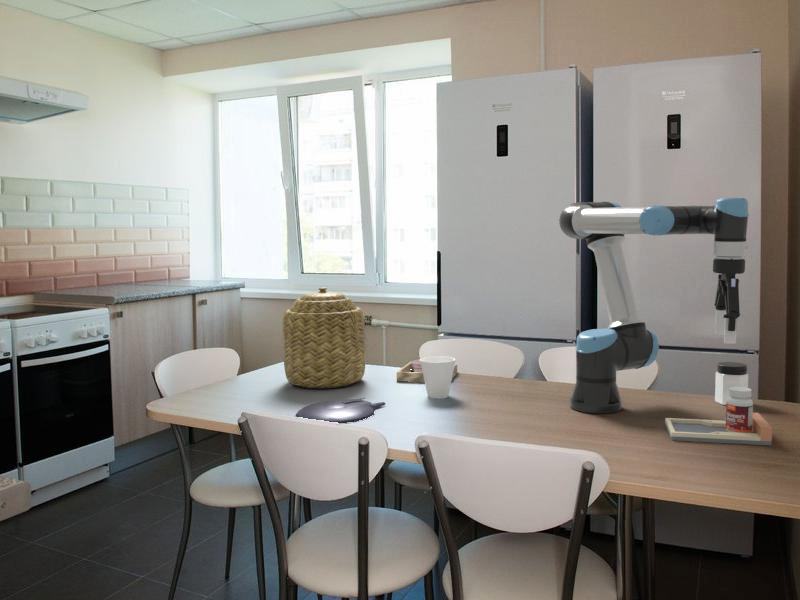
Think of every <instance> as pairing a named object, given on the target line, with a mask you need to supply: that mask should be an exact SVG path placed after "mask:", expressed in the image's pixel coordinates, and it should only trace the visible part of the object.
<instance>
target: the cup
mask: <svg viewBox="0 0 800 600" xmlns="http://www.w3.org/2000/svg"><path fill="white" fill-rule="evenodd" d="M419 360H420V363H421V367H422V372H423V376H424V381H425V383H424V384H425V389H426V394H427V398H429V397H430V399H434V398H437V400H439V399H441V398H442V399H446V398H449V396H450V389H451V386H452V380H453V378H452V375H453V370H454V365H455V364H456V358H455V357H452V356H445V355H435V356H434V355H433V356H432V355H431V356H426V357H421V358H420V359H419Z"/></svg>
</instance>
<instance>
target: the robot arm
mask: <svg viewBox="0 0 800 600" xmlns="http://www.w3.org/2000/svg"><path fill="white" fill-rule="evenodd" d="M715 203H716V204H715V205H673V206H672V205H653V206H622V205H620V204H618V203H615V202H610V201H598V202H597V201H595V202H594V201H588V202H586V201H585V202H584V201H582V202H581V201H579V202H573V203H571V204H569V205H567V206H565V207H564V209H562V211H561V213H560V216H559V218H558V221H559V222H558V223H559V227H560V229H561V231H562V233H563V234H564V235H565V236H567V237H569V238H571V239H575V240H586V245H587V248H588V249H590V250H591V251H592V252H593V253H594V257H595V258H594V259H595V263H596V268H597V271H598V276H599V281H600V285H601V290H602V292H603V297H604V298H603V299H604V302H605V307H606V309H607V314H608V319H609V325H608V326H607V328H593V329H588V330H585V331H581V332H580V333H579V334H578V335H577V337H576V344H575V358H576V359H575V360H576V361H575V363H576V365H575V367H576V369H575V373H576V375H575V376H576V377H575V379H576V380H575V384H574V387H573V389H572V390H573V391H572V393H571V396H570V400H569V406H570V408H571V409H573V410H575V411H579V412H581V413H589V414H612V413H613V414H614V413H618V412H620V411H621V410H623V401H622V397H621V394H620V391H619V387H618V384H617V372H619V371H626V370H628V371H629V370H633V369H636V370H638V369H641V368H645V367H649V366H650V365H652V364H653V363H654V362H655V360H656V358H657V357H658V354H659V347H660V346H659V340H658V338H657V335H656V334H655V333H654V332H653V331H652V330H650V329H647V325H646V322H645V321H644V320H642V319H641V318H640V317H639V314H638V309H637V306H636V303H635V298H634V294H633V293H634V292H633V290H632V285H631V281H630V276H629V272H628V269H627V264H626V259H625V255H624V252H623V247H622V243H623V242H624V241H625V235H651V236H667V235H714V239H713V240H714V241H713V254H712V255H713V256H714V257H715V258H714V259H713V261H712V262H713V263H712V272H713V273H716V274H718V276H717V288H716V294H715V300H714V305H713V306H714V307H715V321H714V322H715V324H714V334H715V335H724V336H723V344H729V345H730V344H731V345H732V344H733V345H736V344H737V332H738V331H737V330H738V319H739V318H740V316H741V313H740V296H739V295H740V294H739V293H740V291H739V285H740V280H739V278H736V275H739V274H740V275H742V274H744V273H745V272H746V260H745V258H744V257H746V252H747V249H749V245H748V244H747V230H748V221H749V215H750V214H749V201H748V199H747V198H745V197H720V198H717V200H716V202H715Z"/></svg>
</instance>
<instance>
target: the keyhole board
mask: <svg viewBox="0 0 800 600" xmlns="http://www.w3.org/2000/svg"><path fill="white" fill-rule="evenodd" d="M664 425H665V428H666V430H667V433H668V435H669V438H670V439H671V441H684V442H701V443H718V444H734V445H736V444H737V445H738V444H739V445H754V446H755V445H756V446H757V445H759V446H772V441H773V427H772V426H771V424H769V423H768V422H767V421H766V420H765V419H764V417H763V416H762V415H761V414H760V413H759V412H753V422H752V433H737V432H727V431H726V420H720V419H719V420H718V419H717V420H716V419H698V418H697V419H696V418H695V419H694V418H675V417H674V418H672V417H665V418H664Z"/></svg>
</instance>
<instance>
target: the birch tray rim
mask: <svg viewBox="0 0 800 600" xmlns="http://www.w3.org/2000/svg"><path fill="white" fill-rule="evenodd" d="M410 362H411V361H409V362H408V363H406V364H405V365H404V366H403V367H401V368H400V369H399V370H397V371H396V382H397V381H408V382H407V383H422V384H423V383H424V384H425V381H424V376H423V372H411V371H414V369H413V368H412V365H411V364H410ZM410 369H412V370H410ZM457 374H458V363H455V365H454V370H453V375H452V379H453V378H454V377H455V376H456V375H457Z"/></svg>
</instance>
